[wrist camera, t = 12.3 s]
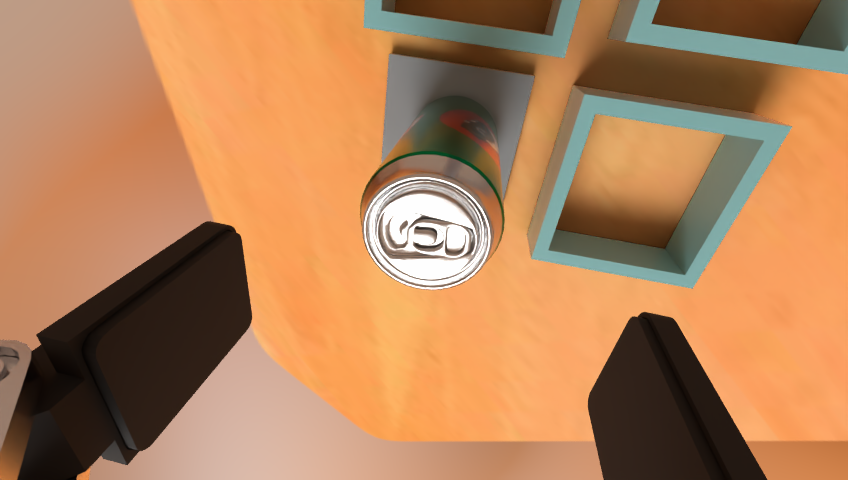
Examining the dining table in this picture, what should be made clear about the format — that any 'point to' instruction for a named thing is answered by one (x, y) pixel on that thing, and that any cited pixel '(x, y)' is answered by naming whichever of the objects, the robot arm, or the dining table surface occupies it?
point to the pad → (434, 79)
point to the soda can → (437, 198)
